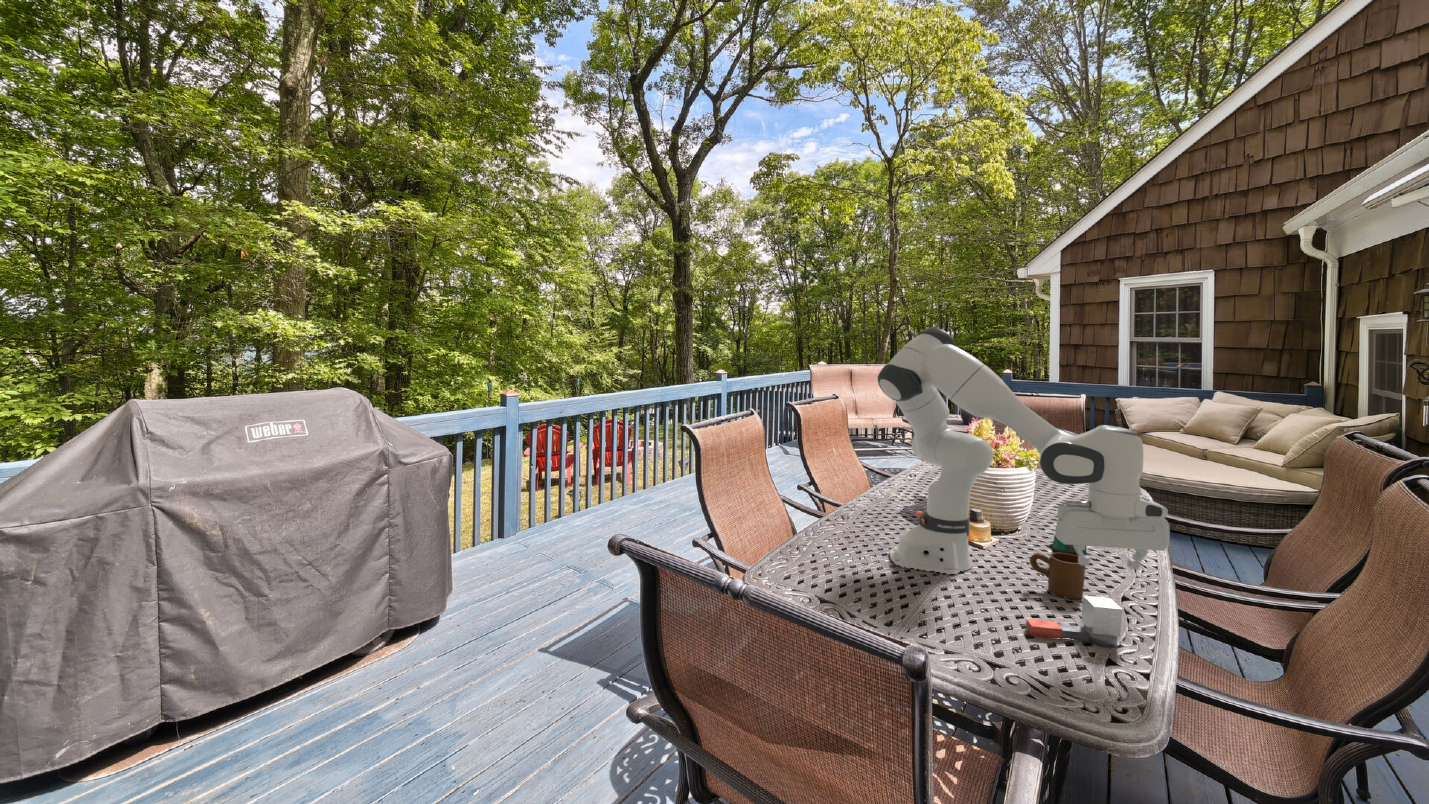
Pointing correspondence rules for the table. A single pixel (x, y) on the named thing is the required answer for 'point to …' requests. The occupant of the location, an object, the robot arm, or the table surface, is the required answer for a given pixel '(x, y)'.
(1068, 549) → the binoculars
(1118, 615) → the silver metal block
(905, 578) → the table surface
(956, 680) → the table surface
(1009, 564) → the table surface
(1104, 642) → the ratchet
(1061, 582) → the mug
